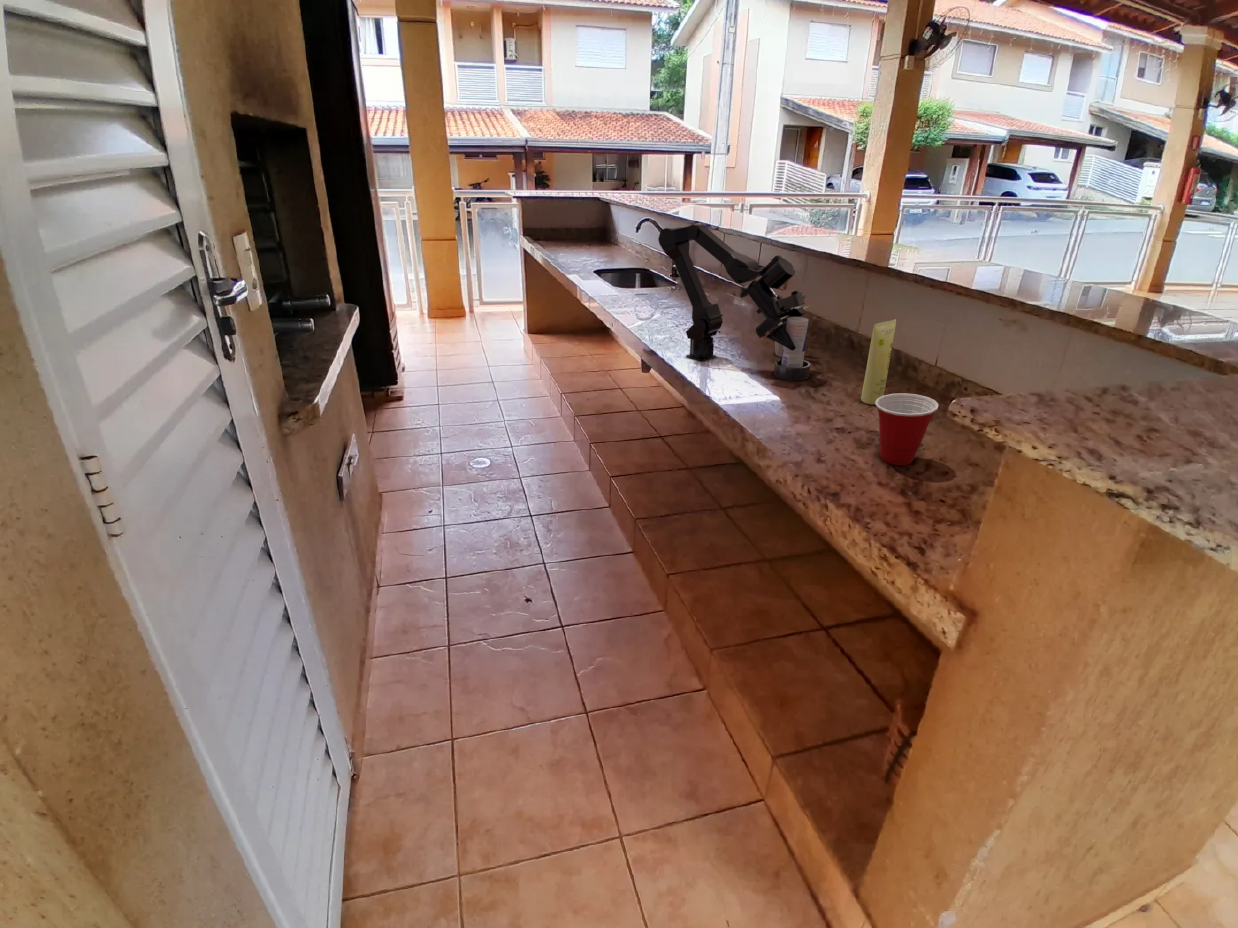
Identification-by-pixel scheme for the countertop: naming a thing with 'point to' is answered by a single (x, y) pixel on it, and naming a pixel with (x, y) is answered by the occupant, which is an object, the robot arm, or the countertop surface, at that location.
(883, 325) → the tube
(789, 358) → the beverage can
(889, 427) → the plastic cup
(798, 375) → the can holder
